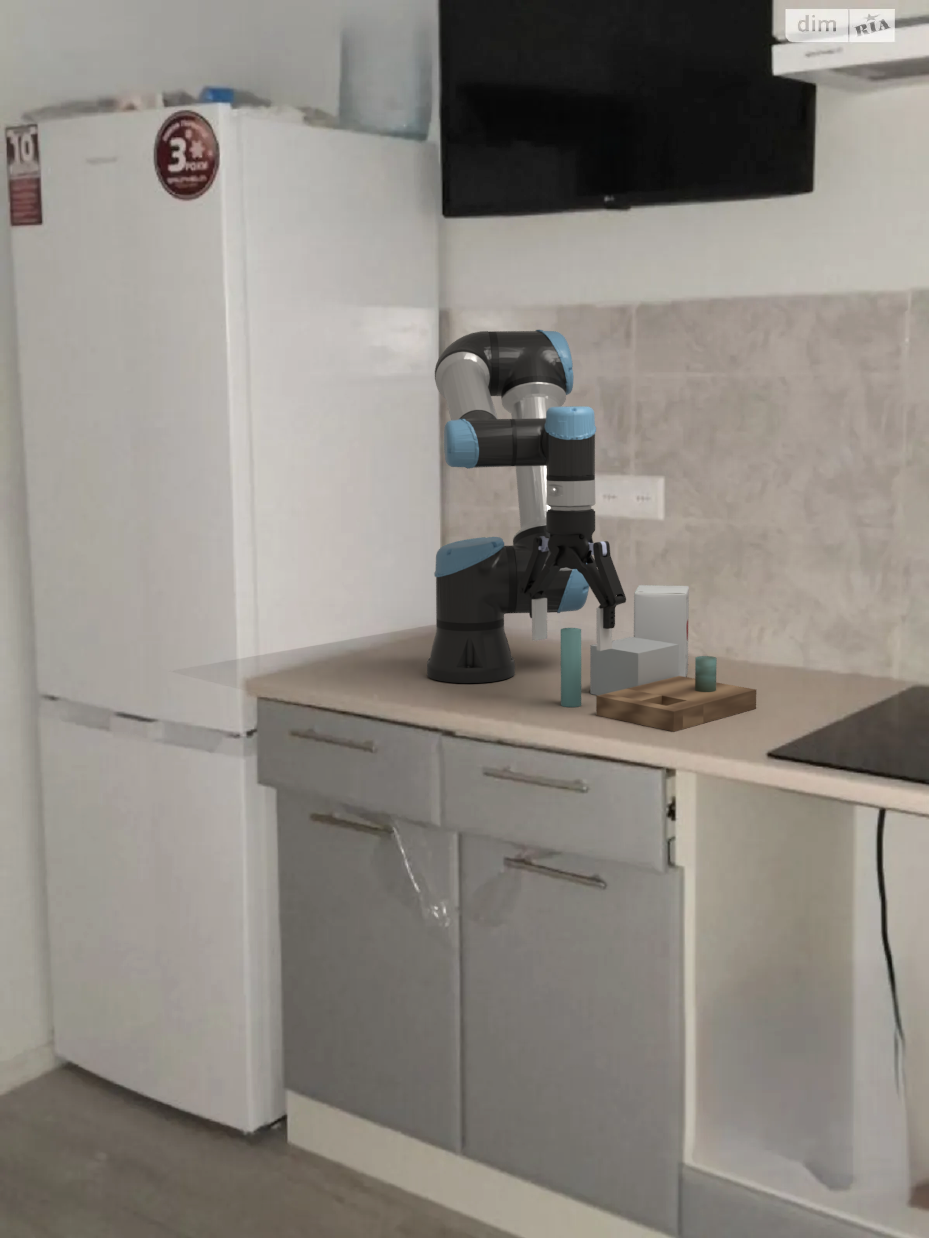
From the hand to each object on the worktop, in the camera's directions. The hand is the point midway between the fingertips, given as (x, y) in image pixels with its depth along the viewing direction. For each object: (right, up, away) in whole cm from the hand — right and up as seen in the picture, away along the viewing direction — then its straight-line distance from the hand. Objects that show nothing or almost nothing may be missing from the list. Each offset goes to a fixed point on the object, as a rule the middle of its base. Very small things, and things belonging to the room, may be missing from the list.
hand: (571, 644), depth 237 cm
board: (+16, -10, -4) cm, 19 cm away
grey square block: (+11, -8, +9) cm, 16 cm away
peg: (0, -9, +2) cm, 10 cm away
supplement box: (+17, -6, +23) cm, 29 cm away
